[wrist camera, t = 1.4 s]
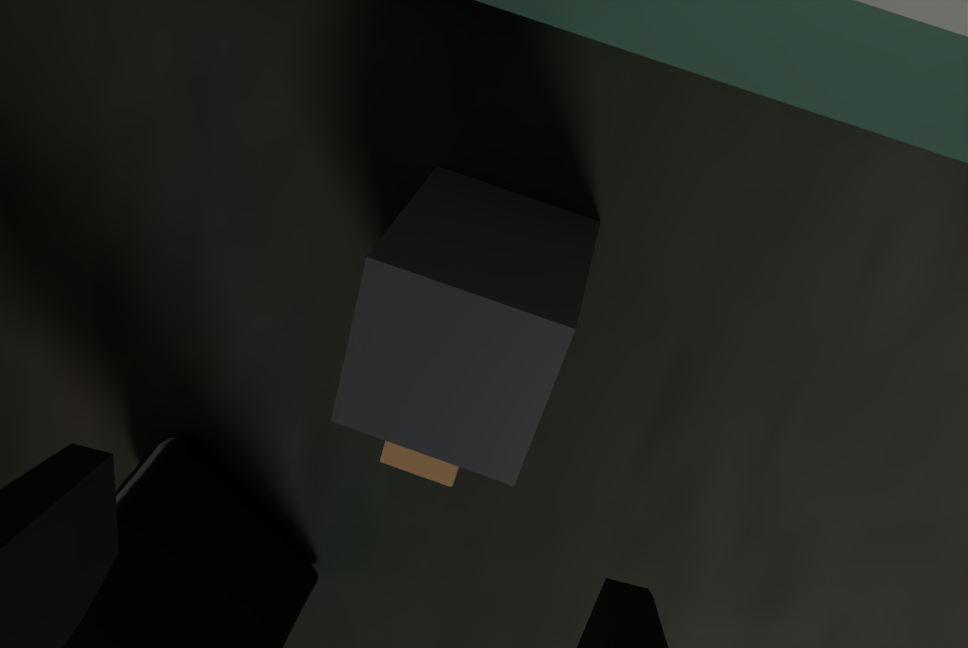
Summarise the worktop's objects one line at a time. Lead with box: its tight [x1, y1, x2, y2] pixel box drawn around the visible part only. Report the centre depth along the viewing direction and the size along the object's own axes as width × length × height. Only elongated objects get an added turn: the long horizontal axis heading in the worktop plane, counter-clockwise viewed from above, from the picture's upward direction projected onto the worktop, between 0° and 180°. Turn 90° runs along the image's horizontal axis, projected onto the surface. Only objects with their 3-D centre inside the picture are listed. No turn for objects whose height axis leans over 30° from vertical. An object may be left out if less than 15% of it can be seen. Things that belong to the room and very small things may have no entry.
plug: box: [331, 166, 600, 487], centre depth 18 cm, size 4×5×5 cm
